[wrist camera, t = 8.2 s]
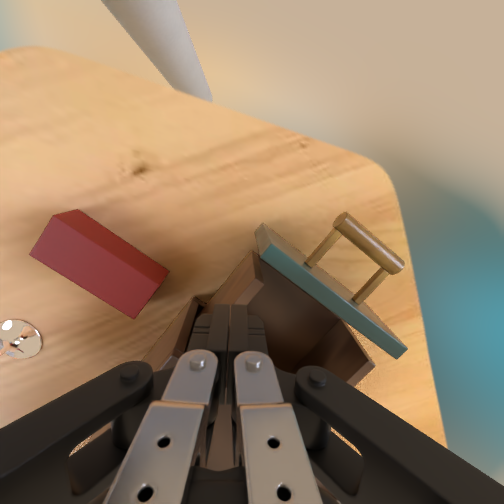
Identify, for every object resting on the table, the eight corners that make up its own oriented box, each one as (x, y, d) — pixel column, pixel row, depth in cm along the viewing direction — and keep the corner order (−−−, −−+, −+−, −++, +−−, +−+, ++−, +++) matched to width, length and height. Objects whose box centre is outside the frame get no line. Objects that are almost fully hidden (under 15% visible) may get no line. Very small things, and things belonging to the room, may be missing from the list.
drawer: (297, 178, 24) (321, 182, 17) (400, 266, 26) (458, 301, 19) (175, 330, 27) (152, 386, 20) (276, 394, 30) (288, 463, 23)
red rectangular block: (55, 243, 25) (28, 254, 22) (77, 208, 24) (53, 214, 21) (146, 301, 27) (133, 319, 24) (169, 271, 26) (160, 285, 23)
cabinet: (193, 295, 27) (171, 354, 18) (301, 367, 30) (327, 449, 21) (114, 394, 30) (63, 486, 21) (220, 451, 33) (213, 553, 24)
